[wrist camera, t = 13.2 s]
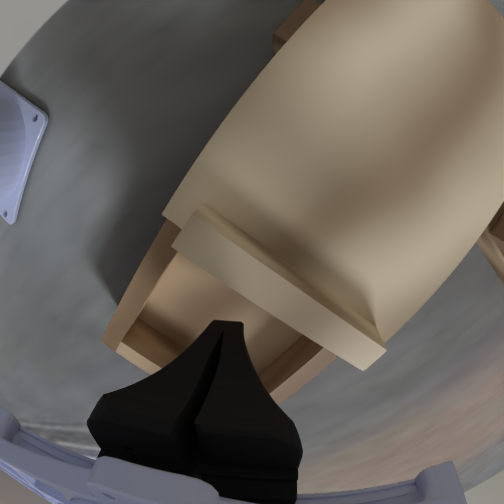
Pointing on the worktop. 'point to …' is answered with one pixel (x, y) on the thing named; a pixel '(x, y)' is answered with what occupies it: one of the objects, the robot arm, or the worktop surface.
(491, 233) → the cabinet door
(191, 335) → the brown piece
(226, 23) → the worktop surface
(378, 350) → the lid
